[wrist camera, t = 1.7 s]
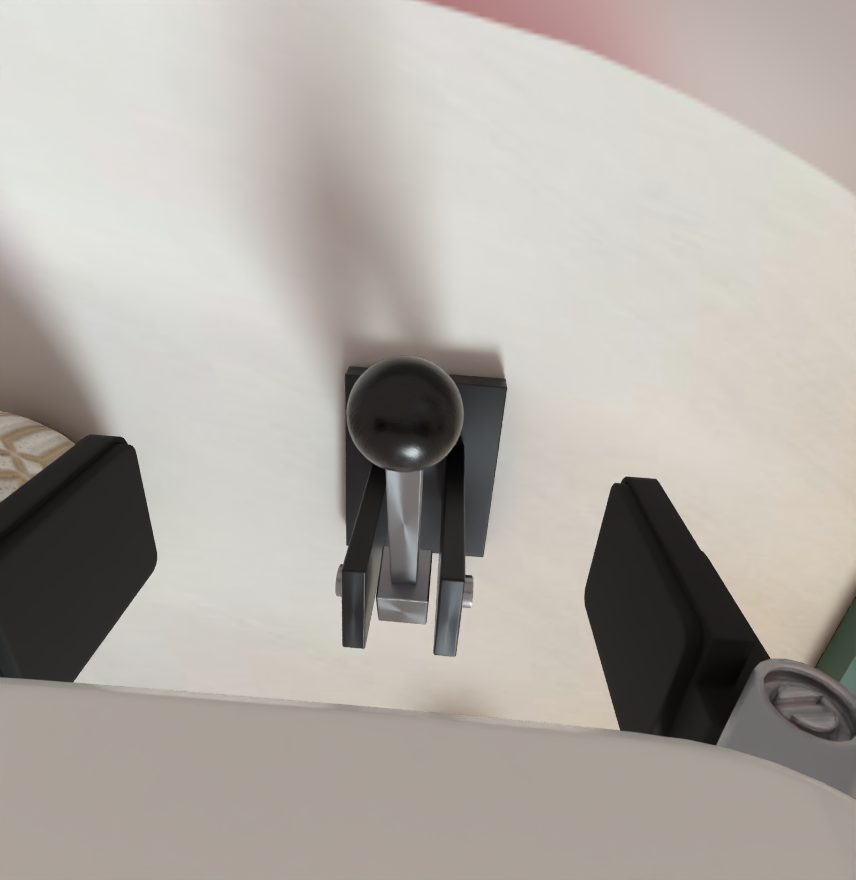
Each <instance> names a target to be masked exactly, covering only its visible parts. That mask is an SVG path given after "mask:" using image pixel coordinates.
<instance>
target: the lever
mask: <svg viewBox="0 0 856 880" xmlns="http://www.w3.org/2000/svg"><path fill="white" fill-rule="evenodd" d="M346 412H347V425H348V429H349V433H350V435H351V438H352V440H353V442H354V444H355V445H356V447H357V448H358V450H359V451H360V452H361V453H362V454H363V455H364V456H365V457H366V458H367V459H368V460H369V461H371V462H372V463H374V464H375V465H377V466H379V467H381V468H383V469H385V470H386V491H387V511H388V532H389V546H384V547H383V550H382V557H381V564H380V571H379V578H378V586H377V593H376V602H377V611H378V619H379V620H381V621H393V622H404V623H415V624H426V623H427V612H428V602H429V589H430V576H431V564H432V550H424V549H419V548H420V527H421V507H422V487H423V470H424V469H427V468H429V467H431V466H433V465H435V464H437V463H438V462H440V461H441V460H442V459H443V458H444V457H445V456H446V455H448V454H449V452H450V451H451V450H452V448H453V447H454V446H455V444H456V442H457V440H458V438H459V436H460V433H461V430H462V426H463V418H464V411H463V403H462V398H461V395H460V393H459V390H458V388H457V386H456V384H455V383H454V381H453V380H452V378H451V377H450V376H449V375H448V374H447V373H446V372H445V371H444V370H443V369H442V368H441V367H439V366H438V365H436V364H434V363H433V362H431V361H429V360H426V359H424V358H420V357H416V356H407V355H403V356H394V357H390V358H386V359H384V360H381V361H379V362H377V363H376V364H374V365H372V366H371V367H369V368H368V369H367V370H366V371H365V372H364V373H363V374H362V375H361V376H360V377H359V378H358V380H357V381H356V383H355V384H354V386H353V388H352V390H351V393H350V395H349V399H348V403H347V410H346Z"/></svg>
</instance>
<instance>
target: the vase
mask: <svg viewBox="0 0 856 880" xmlns="http://www.w3.org/2000/svg"><path fill="white" fill-rule="evenodd" d="M74 445H76V444H75V443H74V442H72V441H71V440H70V439H68V438H67V437H65V436H64V435H62V434H60V433H59V432H57V431H55V430H53V429H51V428H49V427H47V426H45V425H42V424H40V423H38V422H35V421H33V420H30V419H28V418H25V417H22V416H19V415H15V414H12V413H8V412H3V411H0V502H1V501H3V500H4V499H5V498H6V497H8V496H9V495H10V494H12V493H13V492H14V491H16V490H17V489H18V488H20V487H21V486H22V485H23V484H25V483H26V482H27V481H29V480H30V479H31V478H33V477H34V476H35V475H36V474H38V473H39V472H40V471H42V470H43V469H44V468H46V467H47V466H48V465H50V464H51V463H52V462H53V461H55V460H56V459H57V458H59V457H60V456H61V455H63V454H64V453H65V452H66V451H68V450H69V449H70V448H72V447H73V446H74Z"/></svg>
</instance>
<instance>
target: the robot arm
mask: <svg viewBox="0 0 856 880" xmlns="http://www.w3.org/2000/svg"><path fill="white" fill-rule="evenodd" d="M156 562H157V551H156V546H155V541H154V536H153V531H152V527H151V522H150V517H149V512H148V507H147V503H146V498H145V493H144V488H143V483H142V479H141V474H140V469H139V464H138V459H137V455H136V451H135V449H134V447H133V446H131V445H128V444H127V442H126V441H125V439H124V438H122V437H116V436H103V435H88V436H86V437H85V438H83V439H82V440H81V441H79V442H78V443H77V444H76V445H74V446H73V447H72V448H70V449H69V450H68V451H66V452H65V453H64V454H63V455H61V456H60V457H59V458H57V459H56V460H55V461H53V462H52V463H51V464H50V465H48V466H47V467H46V468H44V469H43V470H42V471H40V472H39V473H38V474H36V475H35V476H34V477H33V478H31V479H30V480H29V481H27V482H26V483H25V484H23V485H22V486H21V487H20V488H18V489H17V490H16V491H14V492H13V493H12V494H10V495H9V496H8V497H6V498H5V499H4V500H3V501H1V502H0V880H856V697H855V695H854V694H852V693H851V692H850V691H849V690H848V689H847V688H845V687H844V686H843V685H842V684H841V683H839V682H838V681H837V680H835V679H833V678H832V677H830V676H829V675H827V674H825V673H824V672H822V671H820V670H818V669H816V668H813V667H811V666H809V665H806V664H804V663H801V662H797V661H793V660H788V659H770V657H769V656H768V654H767V652H766V651H765V649H764V648H763V646H762V644H761V643H760V641H759V639H758V638H757V636H756V635H755V633H754V631H753V630H752V628H751V627H750V625H749V623H748V622H747V620H746V618H745V617H744V615H743V614H742V612H741V610H740V609H739V607H738V606H737V604H736V602H735V601H734V599H733V597H732V596H731V594H730V593H729V591H728V589H727V588H726V586H725V585H724V583H723V581H722V580H721V578H720V576H719V575H718V573H717V572H716V570H715V568H714V567H713V565H712V564H711V562H710V560H709V559H708V557H707V556H706V555H705V554H704V552H703V551H701V550H700V548H699V547H698V545H697V543H696V542H695V540H694V539H693V537H692V535H691V534H690V532H689V530H688V529H687V527H686V526H685V524H684V522H683V521H682V519H681V517H680V516H679V514H678V512H677V511H676V509H675V508H674V506H673V504H672V503H671V501H670V499H669V498H668V496H667V494H666V493H665V491H664V490H663V488H662V486H661V485H660V483H659V482H658V481H657V479H650V478H638V477H625V478H624V479H623V480H622V482H621V484H620V483H614V484H613V486H612V487H611V490H610V494H609V498H608V502H607V506H606V510H605V514H604V517H603V521H602V525H601V529H600V533H599V537H598V541H597V545H596V548H595V552H594V556H593V560H592V564H591V568H590V572H589V575H588V579H587V583H586V587H585V595H584V598H585V607H586V611H587V614H588V618H589V622H590V625H591V629H592V632H593V636H594V639H595V643H596V646H597V650H598V653H599V657H600V660H601V664H602V668H603V671H604V675H605V678H606V682H607V685H608V689H609V692H610V696H611V699H612V703H613V706H614V710H615V714H616V717H617V721H618V724H619V728H620V730H611V729H601V728H592V727H582V726H572V725H562V724H553V723H543V722H534V721H523V720H512V719H501V718H490V717H478V716H467V715H456V714H445V713H434V712H423V711H411V710H400V709H389V708H378V707H366V706H354V705H343V704H331V703H319V702H307V701H295V700H284V699H272V698H260V697H247V696H235V695H223V694H211V693H199V692H187V691H174V690H162V689H149V688H136V687H123V686H110V685H97V684H85V683H73V682H74V680H75V679H76V678H77V676H78V675H79V673H80V672H81V671H82V669H83V668H84V666H85V665H86V664H87V662H88V661H89V660H90V658H91V657H92V655H93V654H94V653H95V651H96V650H97V648H98V647H99V646H100V644H101V643H102V642H103V640H104V639H105V637H106V636H107V635H108V633H109V632H110V631H111V629H112V628H113V626H114V625H115V624H116V622H117V621H118V619H119V618H120V617H121V615H122V614H123V613H124V611H125V610H126V608H127V607H128V606H129V604H130V603H131V602H132V600H133V599H134V597H135V596H136V595H137V593H138V592H139V590H140V589H141V588H142V586H143V585H144V584H145V582H146V581H147V579H148V578H149V577H150V575H151V574H152V572H153V571H154V569H155V566H156Z"/></svg>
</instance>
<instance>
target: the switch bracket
mask: <svg viewBox="0 0 856 880" xmlns="http://www.w3.org/2000/svg"><path fill="white" fill-rule="evenodd" d="M367 369H368V368H361V367H349V369H348V371H347V373H346V374H345V410H347V403H348V399H349V395H350V393H351V390H352V388H353V386H354V384H355V383H356V381H357V380H358V378H359V377H360V376H361V375H362V374H363V373H364V372H365V371H366V370H367ZM449 376H450V377H451V378H452V380H453V381H454V383H455V384H456V386H457V388H458V390H459V393H460V395H461V398H462V403H463V411H464V418H463V426H462V430H461V433H460V436H459V438H458V440H457V442H456V444H455V446H454V447H453V448H452V450H451V451H450V452H449V454H448V455H446V456H445V457H444V458H443V459H442V460H441V461H440V462H438V463H437V464H435V465H433V466H431V467H429V468H427V469H424V470H423V487H422V507H421V527H420V548H419V549H424V550H432V553H439V564H438V581H437V598H436V615H435V632H434V649H433V653H434V655H442V656H453V657H454V656H456V651H457V643H458V635H459V627H460V619H461V611H462V607H466V608H471V605H472V598H473V576H472V575H465V556H474V557H483V555H484V548H485V541H486V534H487V527H488V520H489V513H490V506H491V499H492V492H493V485H494V477H495V470H496V463H497V456H498V449H499V442H500V435H501V428H502V421H503V414H504V407H505V399H506V392H507V385H506V380H505V379H498V378H485V377H473V376H460V375H449ZM346 545H347V546H348V550H347V553H346V557H345V560H344V564H340V566H339V568H338V572H337V577H336V595H337V596H341V597H342V645H343V647H351V648H362V649H364V648H365V645H366V640H367V635H368V630H369V625H370V620H371V615H372V609H373V604H374V599H375V594H376V589H377V584H378V578H379V571H380V564H381V557H382V550H383V547H384V546H389V532H388V511H387V491H386V470H385V469H383V468H381V467H379V466H377V465H375V464H374V463H372V462H371V461H369V460H368V459H367V458H366V457H365V456H364V455H363V454H362V453H361V452H360V451H359V450H358V448H357V447H356V445H355V444H354V442H353V440H352V438H351V435H350V433H349V429H348V425H347V412H346Z"/></svg>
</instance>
